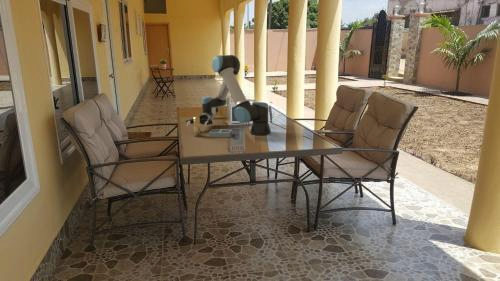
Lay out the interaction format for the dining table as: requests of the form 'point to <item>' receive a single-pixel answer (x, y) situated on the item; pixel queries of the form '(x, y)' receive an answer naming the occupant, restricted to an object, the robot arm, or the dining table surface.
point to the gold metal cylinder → (196, 126)
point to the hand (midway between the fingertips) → (196, 124)
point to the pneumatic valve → (214, 111)
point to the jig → (220, 133)
